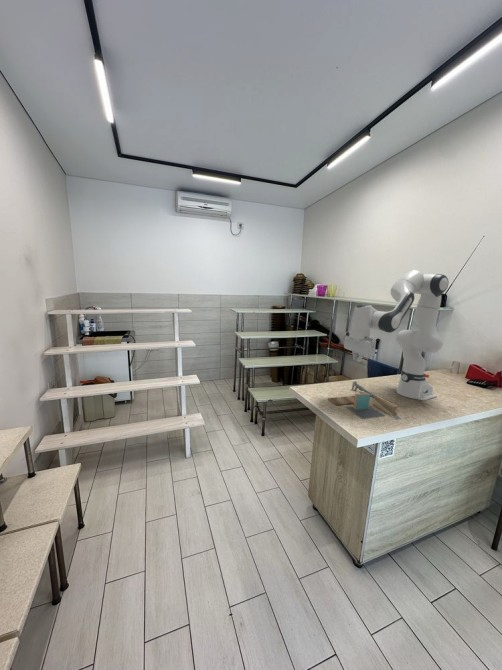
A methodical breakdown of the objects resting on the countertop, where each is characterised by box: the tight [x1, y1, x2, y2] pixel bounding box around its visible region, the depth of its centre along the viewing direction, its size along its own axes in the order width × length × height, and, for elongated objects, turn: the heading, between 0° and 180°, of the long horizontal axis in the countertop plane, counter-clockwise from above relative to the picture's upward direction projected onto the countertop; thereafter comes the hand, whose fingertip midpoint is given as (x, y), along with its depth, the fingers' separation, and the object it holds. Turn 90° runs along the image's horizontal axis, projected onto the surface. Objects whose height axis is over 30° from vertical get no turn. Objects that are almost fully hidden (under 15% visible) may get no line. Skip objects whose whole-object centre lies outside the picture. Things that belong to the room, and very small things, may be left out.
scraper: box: [373, 396, 405, 420], centre depth 130 cm, size 5×16×5 cm, turn 16°
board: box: [327, 395, 355, 407], centre depth 141 cm, size 20×8×1 cm, turn 106°
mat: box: [346, 405, 386, 420], centre depth 129 cm, size 14×12×1 cm
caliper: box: [351, 380, 379, 399], centre depth 151 cm, size 20×1×6 cm, turn 32°
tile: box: [352, 392, 371, 410], centre depth 132 cm, size 8×2×8 cm, turn 106°
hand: (357, 360), depth 135 cm, fingers closed
